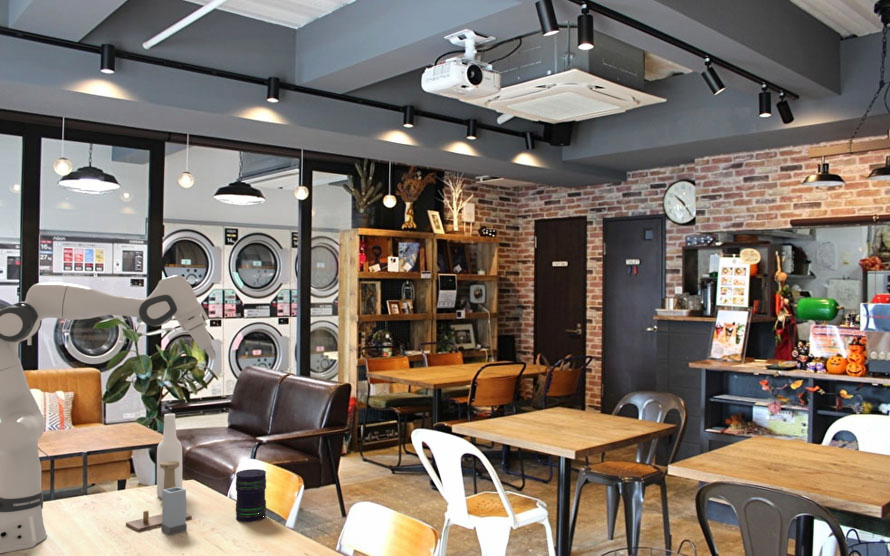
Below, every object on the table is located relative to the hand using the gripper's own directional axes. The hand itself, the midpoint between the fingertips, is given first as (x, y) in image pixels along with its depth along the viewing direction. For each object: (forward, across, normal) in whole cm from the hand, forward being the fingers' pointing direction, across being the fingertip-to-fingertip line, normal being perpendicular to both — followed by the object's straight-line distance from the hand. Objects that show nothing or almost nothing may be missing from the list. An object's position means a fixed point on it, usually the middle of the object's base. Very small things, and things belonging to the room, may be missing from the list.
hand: (213, 357), depth 242 cm
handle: (+42, -23, -38) cm, 61 cm away
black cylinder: (+54, 0, -14) cm, 55 cm away
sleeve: (+42, +6, -35) cm, 55 cm away
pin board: (+40, -5, -40) cm, 57 cm away
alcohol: (+41, -36, -39) cm, 68 cm away
